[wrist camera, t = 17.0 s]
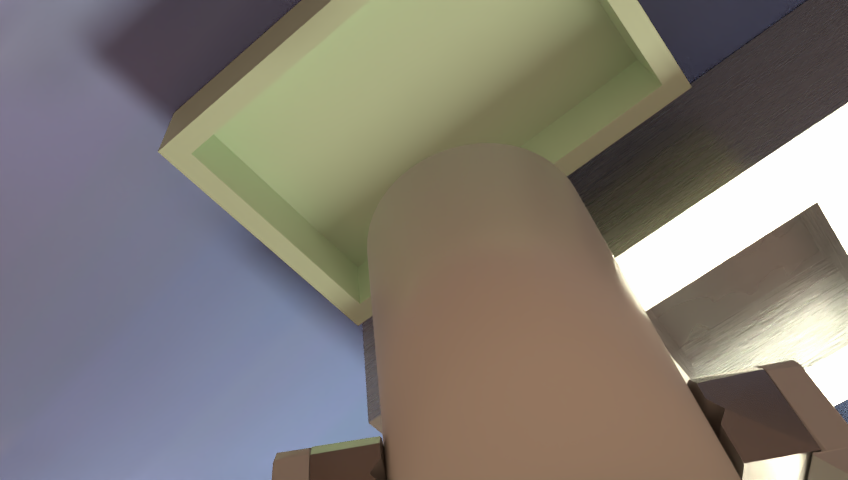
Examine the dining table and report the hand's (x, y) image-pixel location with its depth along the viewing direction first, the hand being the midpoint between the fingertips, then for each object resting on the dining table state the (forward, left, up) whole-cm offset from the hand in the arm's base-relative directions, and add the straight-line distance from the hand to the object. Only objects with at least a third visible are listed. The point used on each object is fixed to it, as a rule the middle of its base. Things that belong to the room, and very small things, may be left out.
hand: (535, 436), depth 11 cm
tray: (0, 0, -14) cm, 14 cm away
